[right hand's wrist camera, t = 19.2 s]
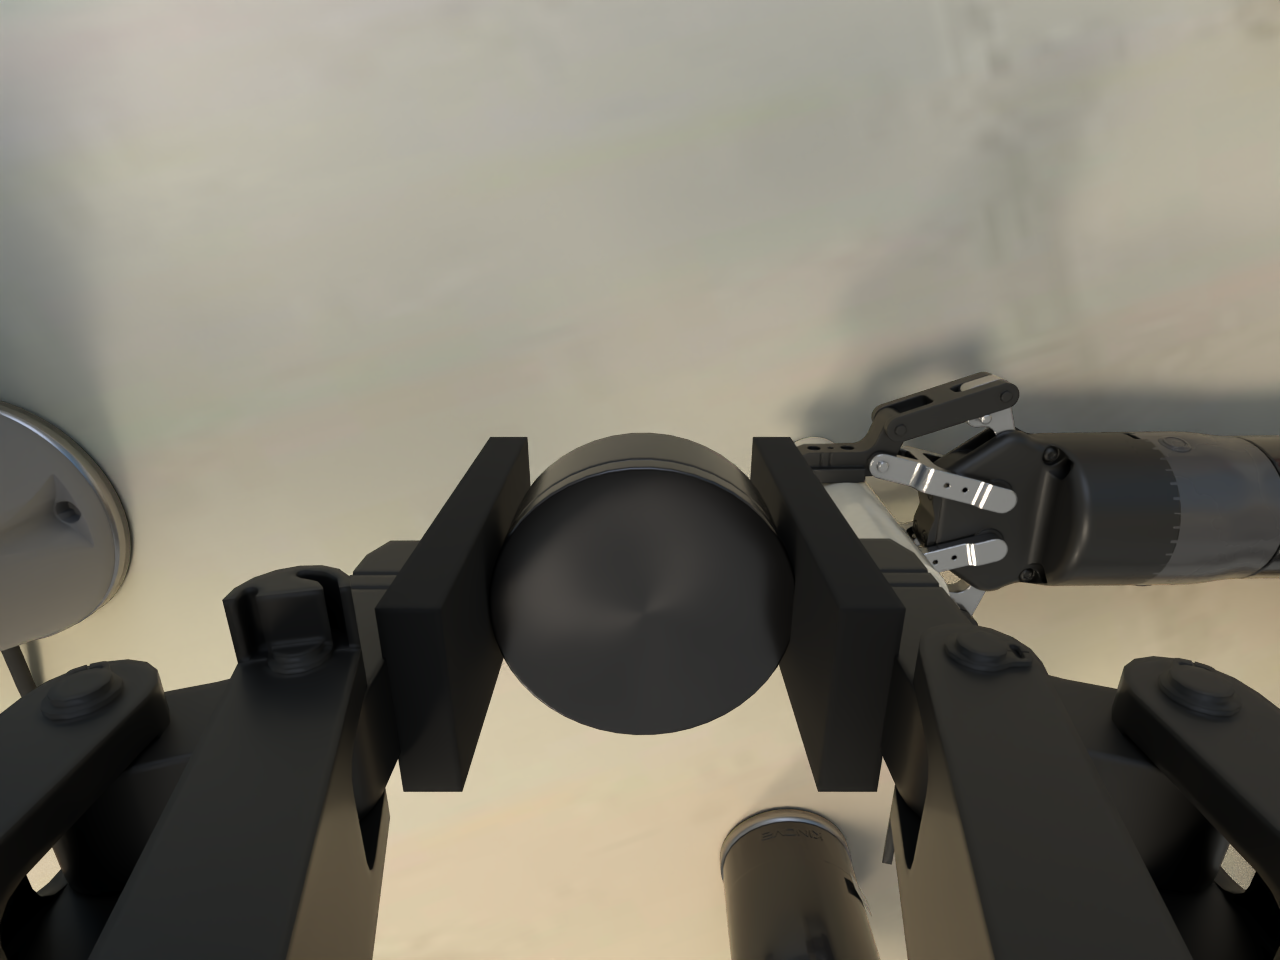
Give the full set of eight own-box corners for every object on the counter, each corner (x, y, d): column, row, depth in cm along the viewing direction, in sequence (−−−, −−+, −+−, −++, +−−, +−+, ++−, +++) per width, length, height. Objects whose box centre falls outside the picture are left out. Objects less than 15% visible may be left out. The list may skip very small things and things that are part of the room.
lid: (678, 710, 13) (684, 778, 11) (461, 594, 12) (434, 650, 11) (831, 523, 12) (861, 572, 10) (599, 376, 11) (592, 404, 9)
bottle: (790, 428, 39) (879, 566, 24) (856, 447, 40) (986, 596, 24) (766, 491, 41) (836, 660, 25) (830, 508, 41) (937, 686, 25)
